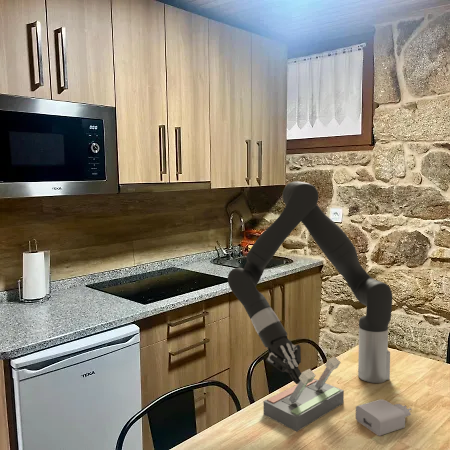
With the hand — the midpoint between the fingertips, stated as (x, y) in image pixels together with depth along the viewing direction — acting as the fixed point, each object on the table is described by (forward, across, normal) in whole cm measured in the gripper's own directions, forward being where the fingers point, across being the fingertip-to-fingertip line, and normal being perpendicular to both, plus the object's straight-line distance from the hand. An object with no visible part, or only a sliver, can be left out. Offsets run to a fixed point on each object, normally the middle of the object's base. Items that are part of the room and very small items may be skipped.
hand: (300, 382), depth 121 cm
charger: (+20, +18, -4) cm, 27 cm away
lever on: (+3, +12, +7) cm, 14 cm away
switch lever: (+3, 0, +7) cm, 8 cm away
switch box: (+6, +6, +10) cm, 13 cm away
